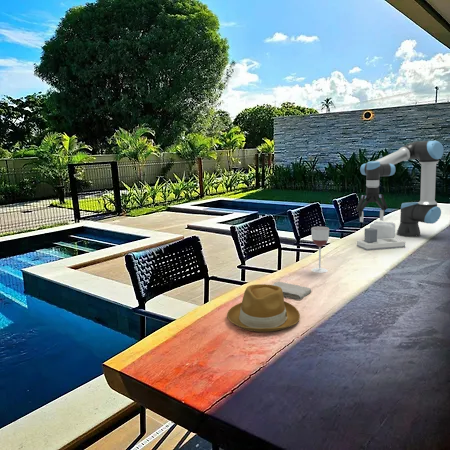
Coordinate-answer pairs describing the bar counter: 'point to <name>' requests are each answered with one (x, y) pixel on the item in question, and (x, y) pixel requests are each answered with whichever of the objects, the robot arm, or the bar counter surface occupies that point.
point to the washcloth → (293, 290)
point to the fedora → (263, 310)
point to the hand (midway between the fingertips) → (371, 221)
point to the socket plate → (381, 244)
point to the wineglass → (320, 243)
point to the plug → (370, 235)
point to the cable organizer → (384, 229)
